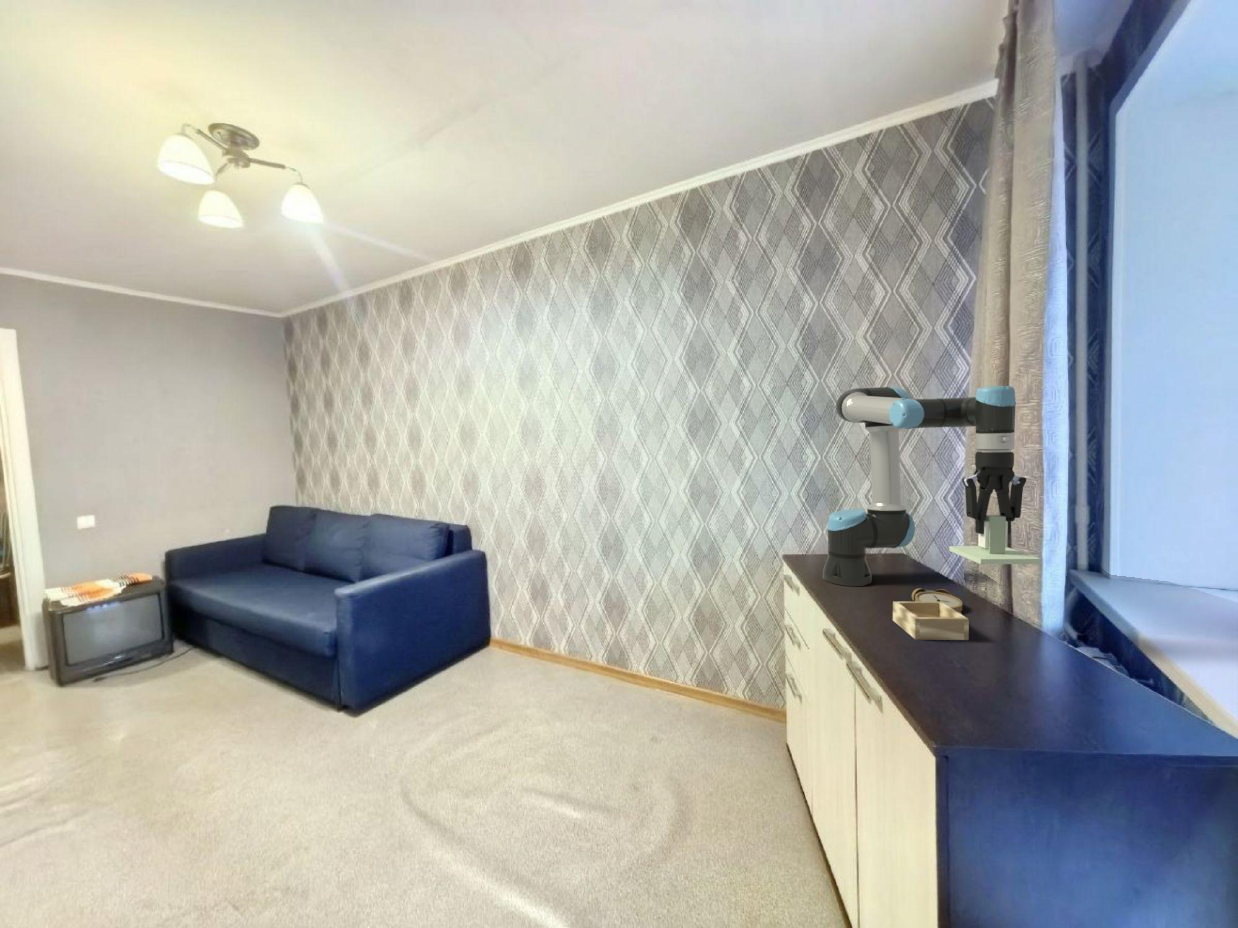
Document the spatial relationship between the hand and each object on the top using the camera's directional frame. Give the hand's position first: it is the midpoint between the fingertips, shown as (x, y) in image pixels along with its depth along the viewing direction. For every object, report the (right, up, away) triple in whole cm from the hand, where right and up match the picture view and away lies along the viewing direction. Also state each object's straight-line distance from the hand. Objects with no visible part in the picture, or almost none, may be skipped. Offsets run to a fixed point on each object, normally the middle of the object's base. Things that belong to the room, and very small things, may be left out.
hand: (992, 546), depth 122 cm
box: (-14, -22, +3) cm, 26 cm away
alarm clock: (-1, -21, +20) cm, 29 cm away
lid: (0, -3, 0) cm, 3 cm away
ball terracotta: (-16, -21, +6) cm, 27 cm away
